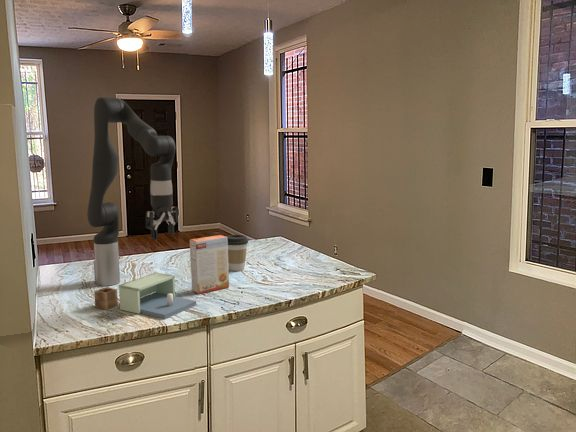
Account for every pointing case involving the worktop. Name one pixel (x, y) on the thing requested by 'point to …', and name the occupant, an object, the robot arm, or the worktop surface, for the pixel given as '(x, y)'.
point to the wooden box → (106, 298)
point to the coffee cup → (236, 252)
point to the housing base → (164, 305)
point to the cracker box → (209, 263)
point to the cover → (144, 290)
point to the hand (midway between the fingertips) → (162, 237)
